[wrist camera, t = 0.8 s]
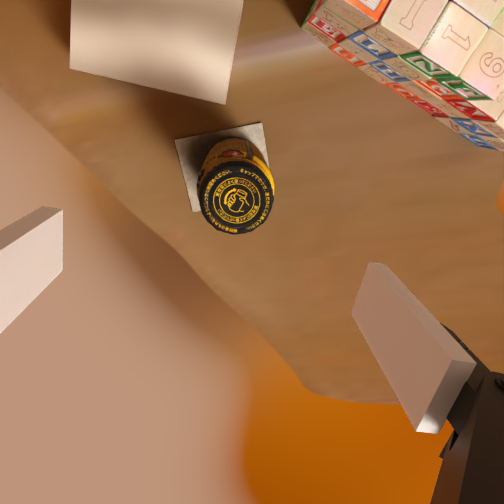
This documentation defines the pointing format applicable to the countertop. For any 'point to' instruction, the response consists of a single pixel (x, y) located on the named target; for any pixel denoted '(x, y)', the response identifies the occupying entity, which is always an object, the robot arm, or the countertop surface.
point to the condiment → (228, 177)
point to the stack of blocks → (426, 55)
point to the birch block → (158, 43)
